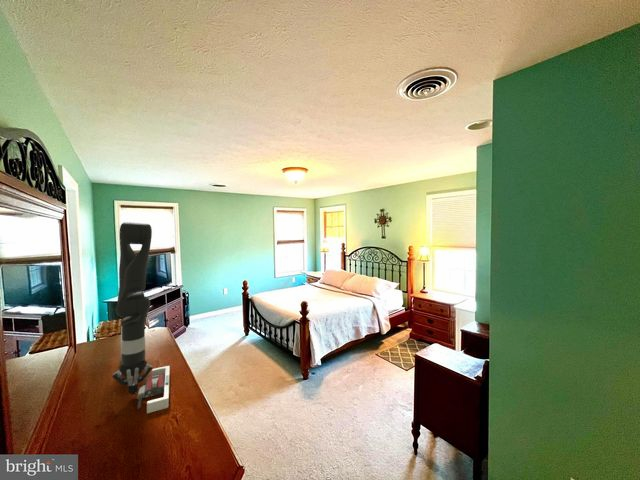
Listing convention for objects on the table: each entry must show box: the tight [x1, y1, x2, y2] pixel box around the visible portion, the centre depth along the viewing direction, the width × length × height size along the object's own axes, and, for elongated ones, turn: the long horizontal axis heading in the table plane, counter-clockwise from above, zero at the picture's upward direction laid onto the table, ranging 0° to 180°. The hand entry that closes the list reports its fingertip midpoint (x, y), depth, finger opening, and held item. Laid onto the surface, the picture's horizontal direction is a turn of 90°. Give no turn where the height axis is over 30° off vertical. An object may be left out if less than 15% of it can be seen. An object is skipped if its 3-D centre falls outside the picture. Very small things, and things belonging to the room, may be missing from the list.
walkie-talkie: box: [136, 373, 165, 410], centre depth 100 cm, size 9×4×20 cm
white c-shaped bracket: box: [146, 365, 171, 414], centre depth 102 cm, size 26×6×4 cm, turn 30°
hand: (133, 393), depth 97 cm, fingers closed
